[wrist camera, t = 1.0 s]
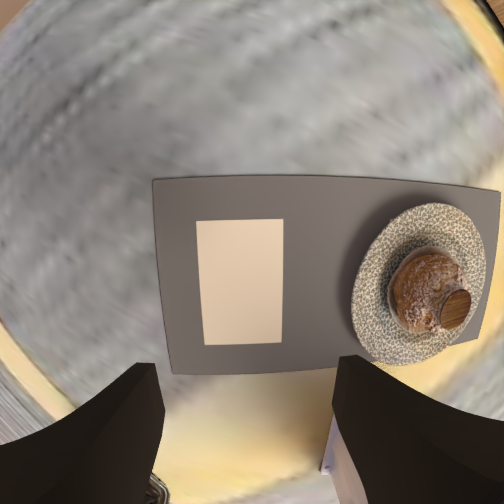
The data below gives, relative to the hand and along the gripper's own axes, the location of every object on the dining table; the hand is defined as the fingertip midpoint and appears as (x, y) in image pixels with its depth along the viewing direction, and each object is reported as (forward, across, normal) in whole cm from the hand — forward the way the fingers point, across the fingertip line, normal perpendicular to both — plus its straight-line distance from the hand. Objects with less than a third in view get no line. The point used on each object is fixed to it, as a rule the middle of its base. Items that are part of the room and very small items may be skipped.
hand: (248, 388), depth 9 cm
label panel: (+10, -8, 0) cm, 13 cm away
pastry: (+10, -13, +1) cm, 16 cm away
